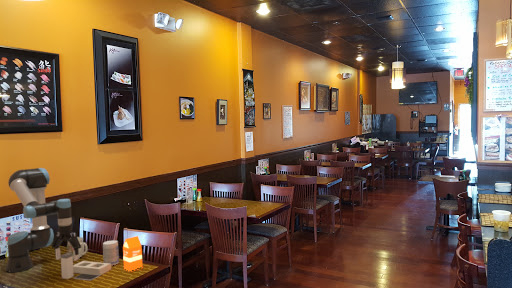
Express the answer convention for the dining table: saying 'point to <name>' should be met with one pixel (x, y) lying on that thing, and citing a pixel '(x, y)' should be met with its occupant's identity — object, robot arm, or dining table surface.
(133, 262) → the orange juice
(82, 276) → the phone
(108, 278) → the dining table surface
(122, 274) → the dining table surface
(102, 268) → the white flat tray
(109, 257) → the supplement tub
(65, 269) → the white cylinder
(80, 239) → the pitcher
